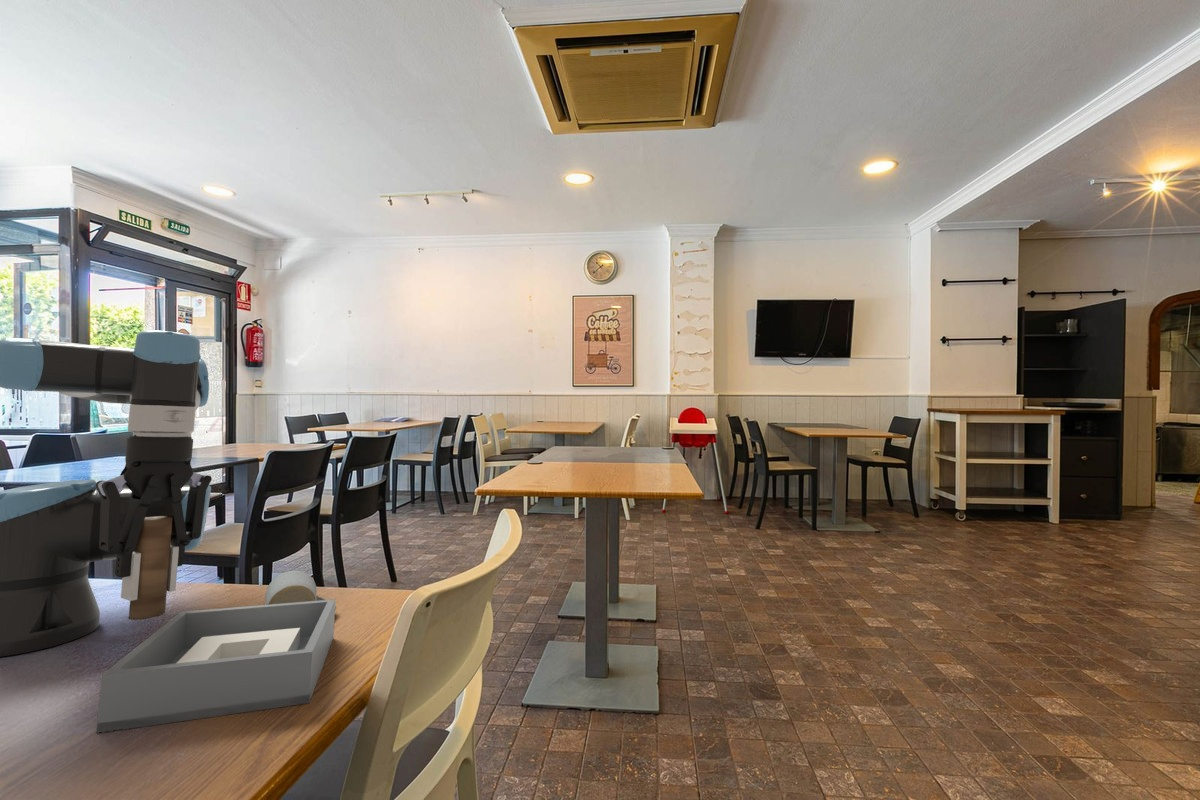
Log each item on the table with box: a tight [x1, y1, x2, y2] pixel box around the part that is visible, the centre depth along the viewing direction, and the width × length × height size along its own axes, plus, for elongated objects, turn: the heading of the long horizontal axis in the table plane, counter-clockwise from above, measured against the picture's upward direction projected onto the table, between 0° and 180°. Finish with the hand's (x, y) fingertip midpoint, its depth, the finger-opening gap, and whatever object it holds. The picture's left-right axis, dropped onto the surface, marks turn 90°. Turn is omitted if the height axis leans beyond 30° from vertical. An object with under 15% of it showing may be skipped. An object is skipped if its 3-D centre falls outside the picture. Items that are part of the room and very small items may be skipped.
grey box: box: [96, 598, 336, 734], centre depth 67 cm, size 20×20×6 cm
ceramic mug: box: [264, 570, 337, 611], centre depth 87 cm, size 11×8×8 cm
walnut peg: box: [128, 516, 173, 621], centre depth 75 cm, size 4×4×14 cm
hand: (148, 593), depth 75 cm, fingers closed on walnut peg, 4 cm apart
